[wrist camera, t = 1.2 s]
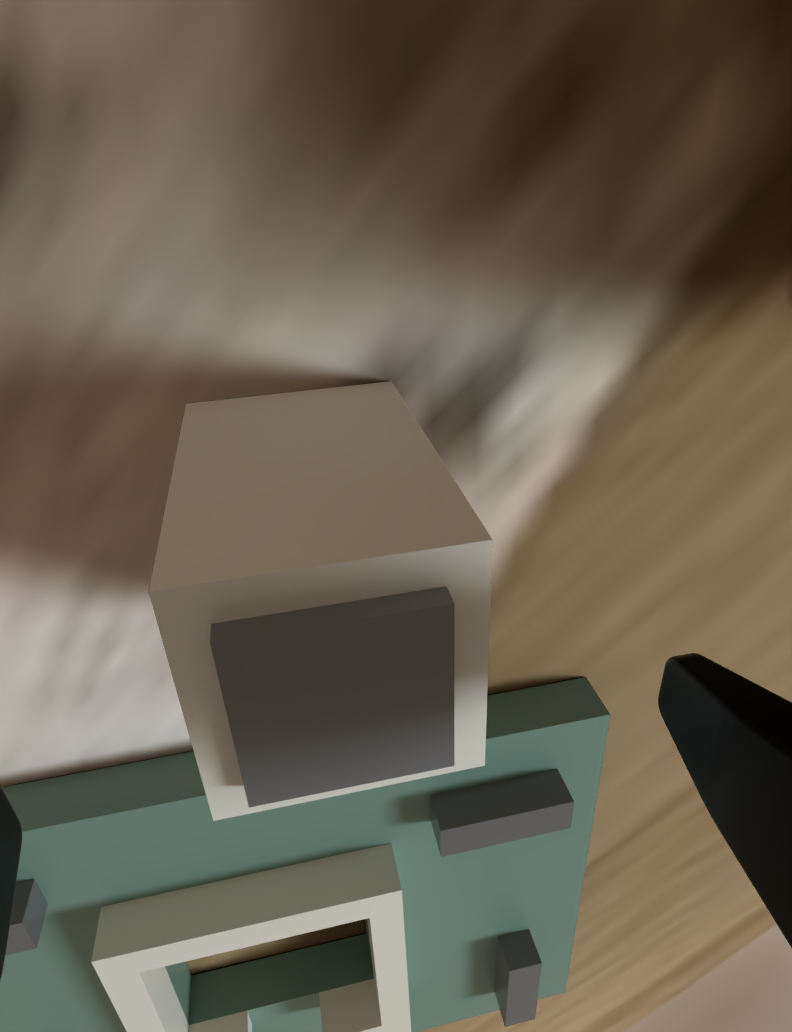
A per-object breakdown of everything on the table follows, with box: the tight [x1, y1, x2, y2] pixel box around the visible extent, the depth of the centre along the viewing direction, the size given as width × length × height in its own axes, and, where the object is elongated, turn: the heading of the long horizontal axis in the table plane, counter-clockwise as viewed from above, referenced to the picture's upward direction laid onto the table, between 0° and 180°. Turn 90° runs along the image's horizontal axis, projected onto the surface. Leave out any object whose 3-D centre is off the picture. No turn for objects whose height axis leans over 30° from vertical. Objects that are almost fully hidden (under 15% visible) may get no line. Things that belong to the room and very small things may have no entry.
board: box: [0, 677, 610, 1032], centre depth 22 cm, size 22×16×3 cm
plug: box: [149, 381, 492, 821], centre depth 13 cm, size 4×6×7 cm
